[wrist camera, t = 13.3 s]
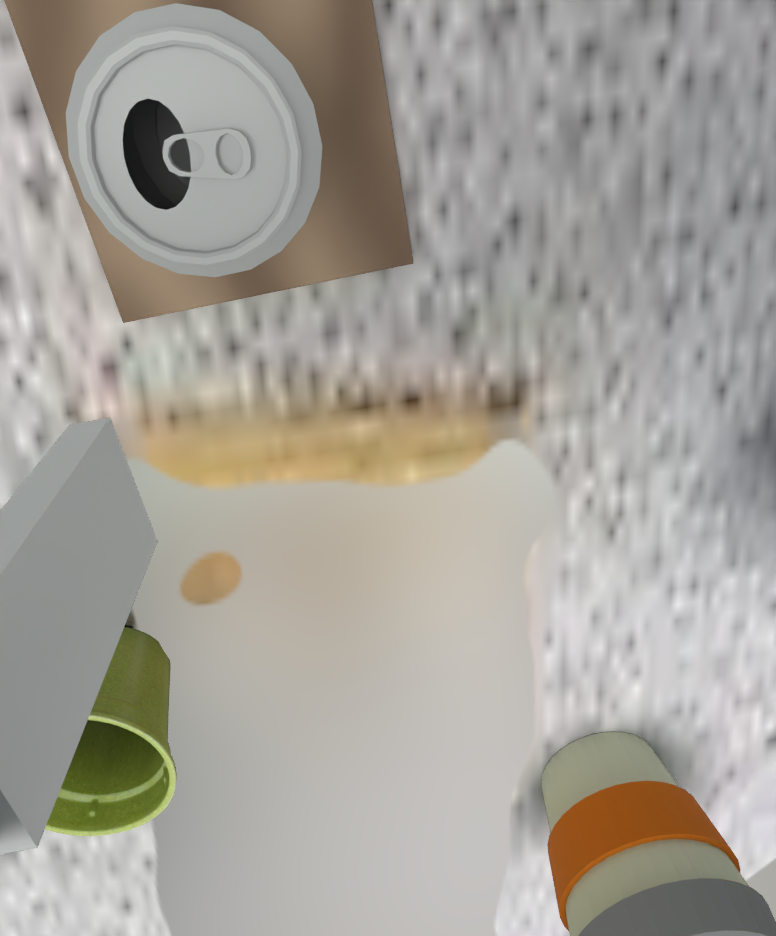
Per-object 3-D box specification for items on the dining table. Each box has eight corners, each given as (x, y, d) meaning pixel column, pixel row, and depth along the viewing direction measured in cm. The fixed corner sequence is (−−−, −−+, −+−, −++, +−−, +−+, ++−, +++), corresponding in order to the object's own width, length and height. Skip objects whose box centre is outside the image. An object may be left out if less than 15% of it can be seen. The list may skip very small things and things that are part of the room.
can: (119, 31, 28) (12, 0, 18) (309, 26, 29) (313, -8, 19) (154, 227, 32) (82, 297, 22) (322, 219, 33) (332, 283, 22)
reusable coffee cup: (492, 816, 56) (550, 1041, 43) (559, 701, 51) (648, 918, 38) (631, 834, 59) (725, 1050, 46) (708, 727, 54) (839, 936, 41)
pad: (353, -98, 28) (355, -105, 27) (410, 257, 35) (413, 263, 34) (4, -27, 28) (-8, -31, 27) (128, 315, 35) (123, 322, 34)
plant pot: (170, 730, 48) (145, 851, 41) (24, 695, 46) (-32, 818, 38) (218, 628, 45) (200, 741, 37) (62, 584, 42) (8, 695, 34)
